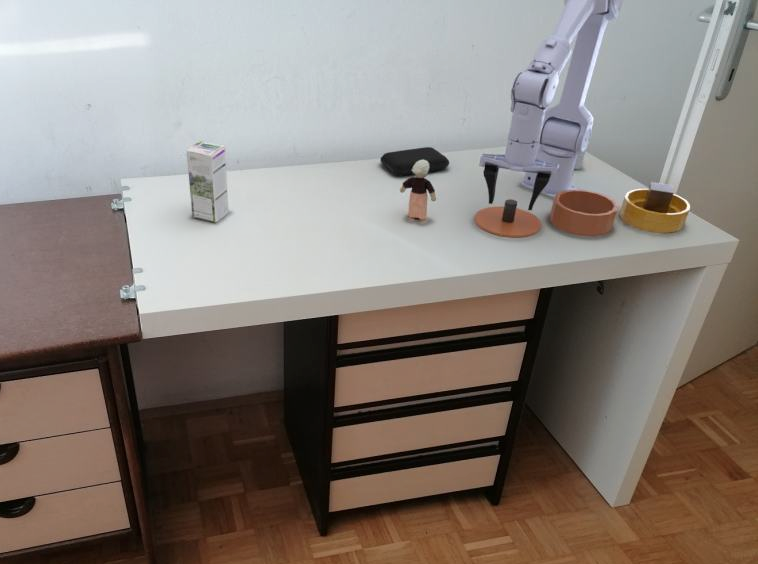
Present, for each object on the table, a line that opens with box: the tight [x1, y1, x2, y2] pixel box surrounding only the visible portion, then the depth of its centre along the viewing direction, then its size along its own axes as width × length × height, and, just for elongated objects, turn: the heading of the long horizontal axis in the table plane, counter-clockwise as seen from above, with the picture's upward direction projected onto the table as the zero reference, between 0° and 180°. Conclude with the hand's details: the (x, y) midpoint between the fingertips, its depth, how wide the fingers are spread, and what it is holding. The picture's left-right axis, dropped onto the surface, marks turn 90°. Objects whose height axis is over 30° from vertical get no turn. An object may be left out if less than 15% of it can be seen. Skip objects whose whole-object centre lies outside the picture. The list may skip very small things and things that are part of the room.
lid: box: [474, 198, 542, 238], centre depth 146 cm, size 13×13×5 cm
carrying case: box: [379, 146, 450, 177], centre depth 171 cm, size 11×3×15 cm
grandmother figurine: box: [399, 160, 437, 222], centre depth 145 cm, size 8×4×13 cm, turn 71°
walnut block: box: [643, 181, 674, 213], centre depth 147 cm, size 4×4×7 cm
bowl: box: [619, 188, 691, 234], centre depth 148 cm, size 12×12×4 cm
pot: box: [549, 189, 619, 237], centre depth 146 cm, size 12×12×5 cm
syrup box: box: [186, 141, 230, 223], centre depth 145 cm, size 6×6×14 cm
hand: (510, 205), depth 145 cm, fingers open, 7 cm apart
